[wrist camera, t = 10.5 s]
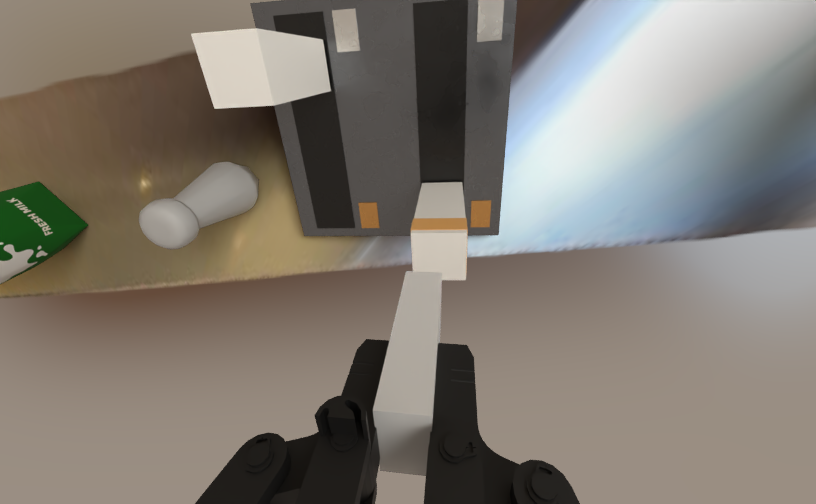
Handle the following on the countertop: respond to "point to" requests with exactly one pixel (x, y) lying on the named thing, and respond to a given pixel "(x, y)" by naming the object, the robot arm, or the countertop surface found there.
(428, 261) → the handle
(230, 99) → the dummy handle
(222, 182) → the salt shaker
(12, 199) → the milk carton
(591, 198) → the countertop surface
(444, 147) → the panel
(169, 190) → the countertop surface
